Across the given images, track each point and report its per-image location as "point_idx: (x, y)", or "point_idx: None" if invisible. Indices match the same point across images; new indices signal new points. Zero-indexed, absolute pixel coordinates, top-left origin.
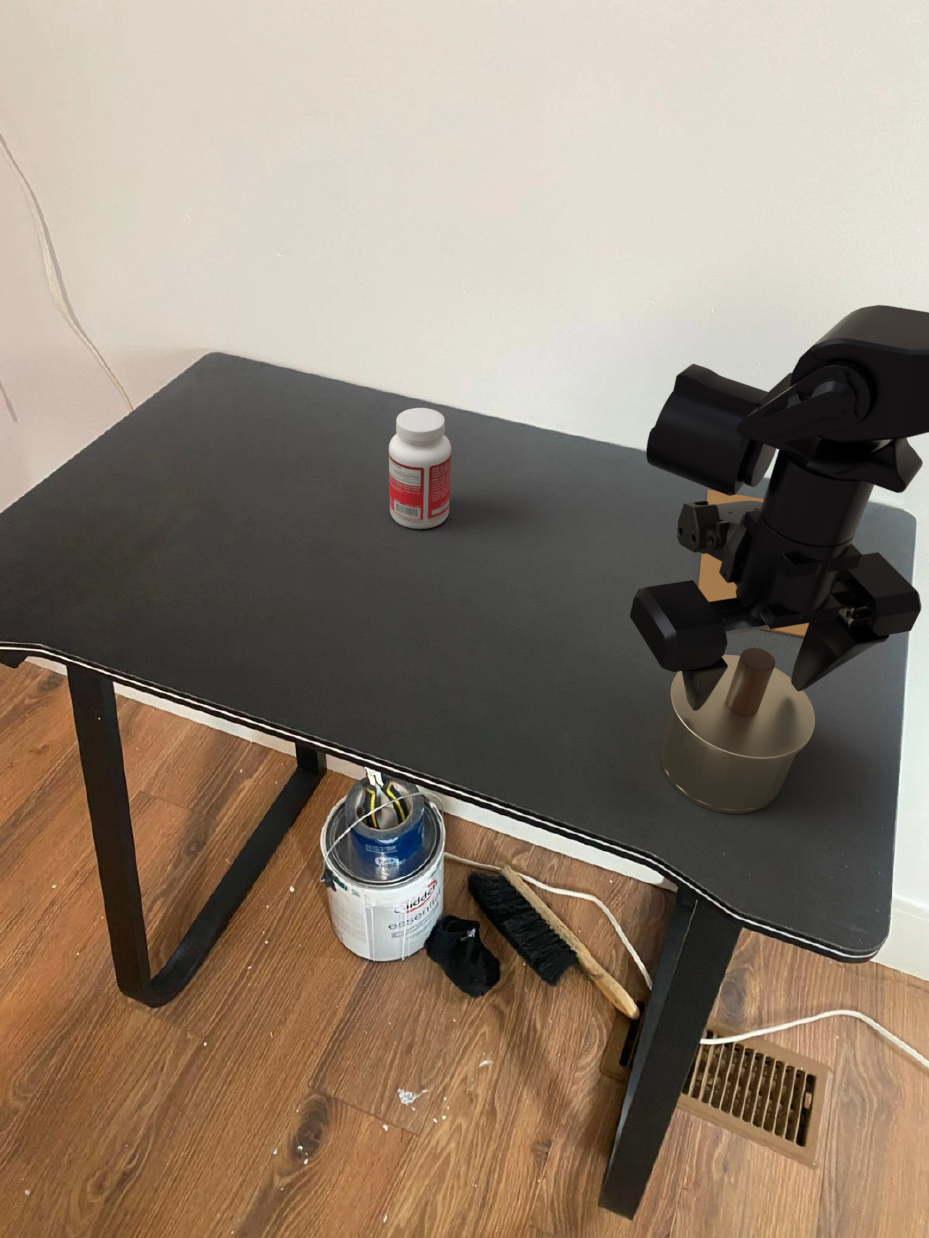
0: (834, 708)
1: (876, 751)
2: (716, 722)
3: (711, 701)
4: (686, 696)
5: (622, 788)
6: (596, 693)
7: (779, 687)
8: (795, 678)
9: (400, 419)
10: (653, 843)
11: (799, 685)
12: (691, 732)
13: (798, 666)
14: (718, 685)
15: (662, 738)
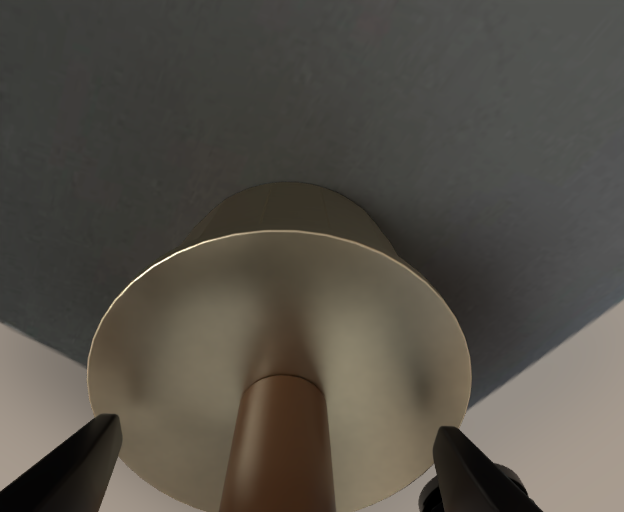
0: (579, 235)
1: (553, 330)
2: (183, 437)
3: (204, 383)
4: (86, 424)
5: (98, 279)
6: (110, 22)
7: (416, 390)
8: (446, 459)
9: None
10: None
11: (440, 469)
12: None
13: (468, 495)
14: (254, 343)
15: (190, 232)
